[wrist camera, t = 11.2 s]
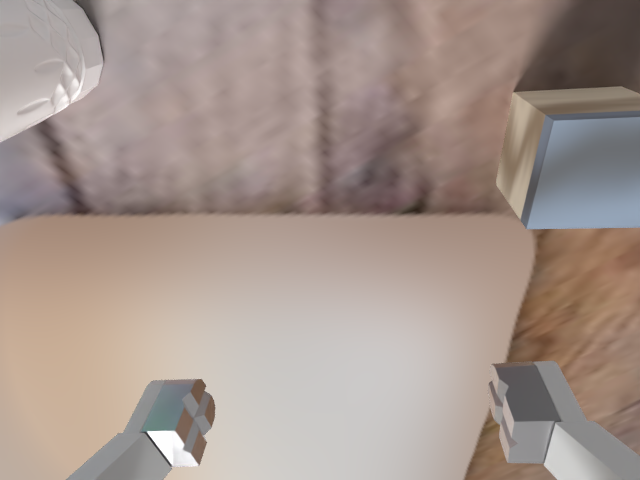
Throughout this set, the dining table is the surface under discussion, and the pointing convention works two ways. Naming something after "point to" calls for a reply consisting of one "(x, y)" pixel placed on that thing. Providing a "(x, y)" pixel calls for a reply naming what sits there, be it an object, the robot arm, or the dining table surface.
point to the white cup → (44, 61)
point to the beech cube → (573, 158)
